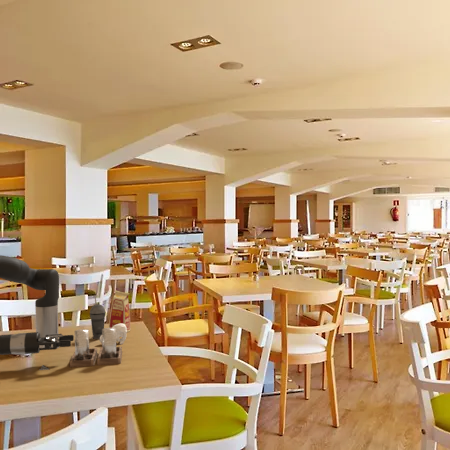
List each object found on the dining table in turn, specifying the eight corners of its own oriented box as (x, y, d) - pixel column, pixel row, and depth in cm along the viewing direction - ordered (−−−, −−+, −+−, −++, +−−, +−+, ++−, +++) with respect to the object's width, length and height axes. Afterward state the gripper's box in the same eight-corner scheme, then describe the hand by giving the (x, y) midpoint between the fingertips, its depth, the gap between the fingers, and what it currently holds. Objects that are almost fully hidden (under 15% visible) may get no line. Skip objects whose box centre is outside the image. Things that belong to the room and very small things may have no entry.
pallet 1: (75, 357, 192) (75, 349, 192) (97, 355, 193) (97, 348, 193) (69, 369, 174) (69, 361, 174) (94, 368, 176) (93, 359, 176)
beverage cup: (102, 340, 220) (101, 296, 220) (87, 339, 221) (86, 295, 221) (108, 336, 227) (108, 293, 227) (94, 336, 228) (93, 293, 228)
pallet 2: (100, 355, 193) (100, 347, 193) (122, 353, 195) (122, 346, 195) (96, 368, 176) (96, 359, 176) (121, 366, 178) (120, 358, 178)
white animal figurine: (126, 324, 211) (98, 329, 208) (129, 343, 212) (100, 348, 208) (125, 321, 217) (97, 326, 214) (127, 340, 218) (100, 345, 214)
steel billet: (73, 363, 180) (72, 330, 180) (86, 360, 183) (85, 328, 183) (79, 365, 176) (77, 332, 176) (92, 362, 179) (90, 330, 179)
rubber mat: (44, 365, 181) (44, 363, 181) (69, 363, 183) (69, 361, 183) (39, 372, 172) (39, 370, 172) (65, 370, 174) (65, 368, 174)
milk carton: (108, 333, 235) (107, 291, 235) (115, 328, 244) (115, 289, 244) (126, 333, 233) (125, 291, 233) (133, 329, 242) (132, 289, 242)
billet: (100, 361, 181) (99, 329, 181) (112, 358, 185) (111, 327, 185) (106, 363, 178) (105, 331, 178) (118, 361, 181) (118, 329, 181)
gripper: (20, 337, 169) (69, 334, 172) (29, 328, 183) (74, 326, 186) (21, 358, 169) (69, 355, 172) (29, 348, 183) (74, 346, 186)
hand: (72, 340), depth 179 cm, fingers open, 8 cm apart
